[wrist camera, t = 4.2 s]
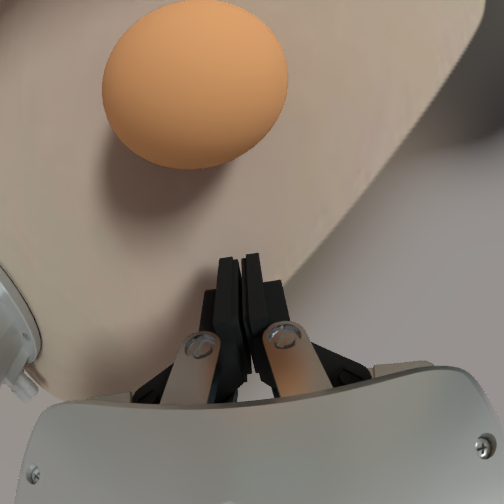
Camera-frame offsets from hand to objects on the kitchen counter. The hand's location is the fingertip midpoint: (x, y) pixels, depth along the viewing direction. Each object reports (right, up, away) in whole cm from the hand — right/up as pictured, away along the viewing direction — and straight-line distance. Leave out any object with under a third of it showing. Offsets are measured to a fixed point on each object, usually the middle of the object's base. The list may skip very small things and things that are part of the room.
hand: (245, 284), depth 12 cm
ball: (-1, +6, -5) cm, 8 cm away
